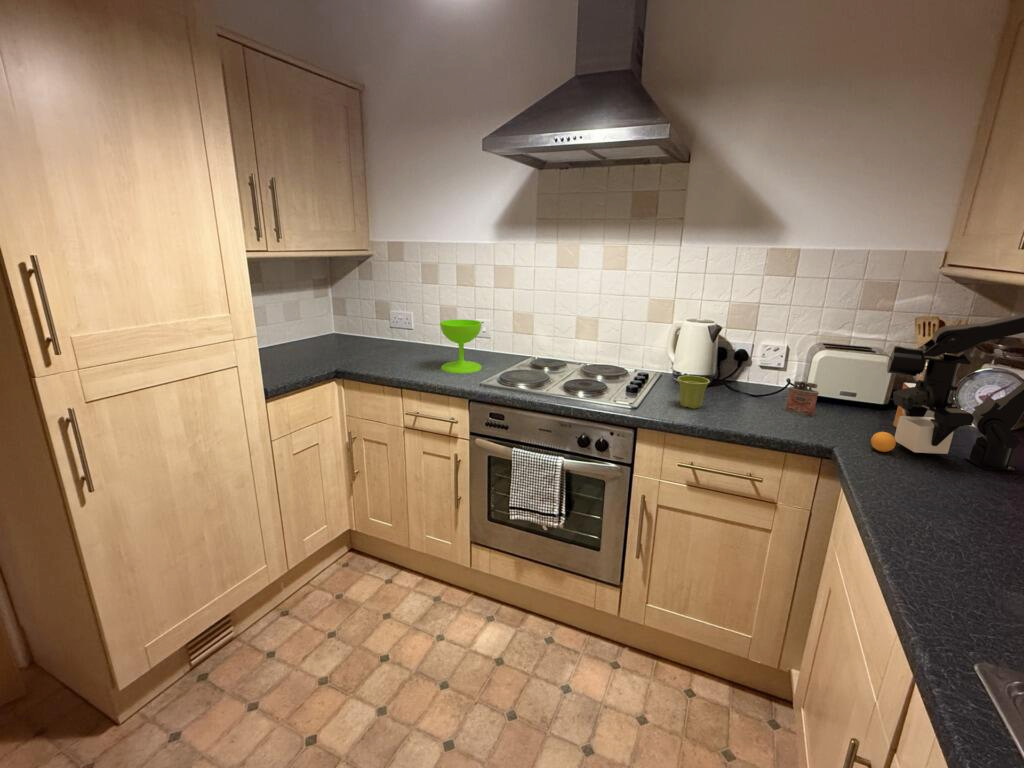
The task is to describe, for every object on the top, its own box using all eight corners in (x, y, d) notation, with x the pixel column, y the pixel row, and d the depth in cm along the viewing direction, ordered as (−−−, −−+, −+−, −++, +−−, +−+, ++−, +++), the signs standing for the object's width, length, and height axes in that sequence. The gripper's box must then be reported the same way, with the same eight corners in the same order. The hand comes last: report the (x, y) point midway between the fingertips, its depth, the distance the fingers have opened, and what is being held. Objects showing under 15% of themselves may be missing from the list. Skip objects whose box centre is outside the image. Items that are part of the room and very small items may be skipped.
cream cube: (925, 441, 130) (931, 417, 128) (947, 453, 122) (954, 428, 121) (893, 440, 130) (899, 416, 128) (914, 452, 123) (921, 427, 121)
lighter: (783, 411, 156) (788, 379, 153) (786, 408, 158) (792, 377, 155) (812, 417, 151) (818, 385, 148) (815, 414, 153) (821, 383, 150)
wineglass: (489, 366, 202) (489, 322, 197) (465, 375, 189) (464, 327, 184) (457, 361, 210) (457, 318, 205) (432, 369, 197) (431, 323, 192)
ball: (885, 447, 129) (889, 429, 128) (897, 455, 125) (902, 436, 123) (864, 446, 130) (869, 428, 128) (876, 454, 125) (881, 435, 124)
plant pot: (684, 411, 154) (687, 384, 151) (669, 401, 163) (672, 375, 160) (712, 409, 156) (715, 382, 153) (695, 400, 165) (698, 374, 162)
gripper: (879, 368, 131) (866, 424, 135) (931, 389, 113) (914, 453, 117) (924, 369, 130) (909, 426, 134) (984, 391, 112) (964, 455, 117)
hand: (922, 439), depth 126 cm, fingers closed on cream cube, 8 cm apart
